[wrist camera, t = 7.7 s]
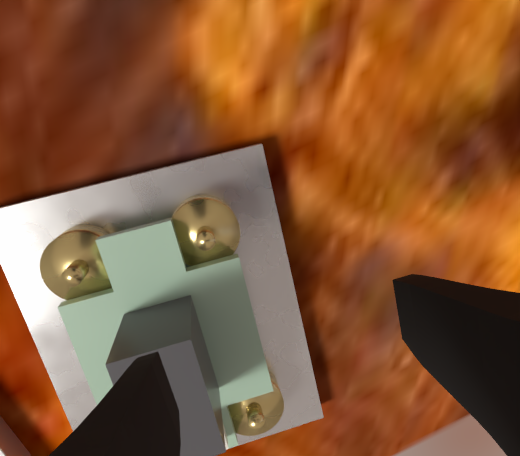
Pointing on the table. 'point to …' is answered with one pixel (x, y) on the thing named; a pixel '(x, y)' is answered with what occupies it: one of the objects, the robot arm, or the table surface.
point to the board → (165, 278)
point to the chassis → (194, 252)
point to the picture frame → (10, 442)
